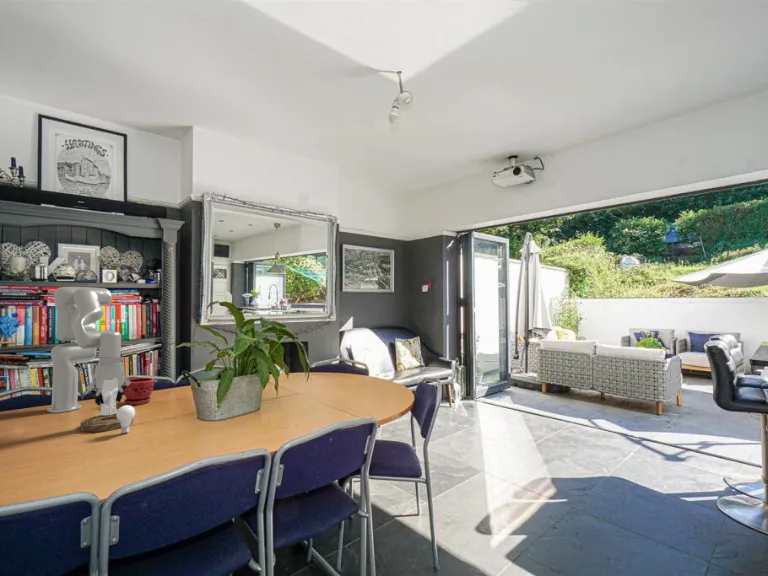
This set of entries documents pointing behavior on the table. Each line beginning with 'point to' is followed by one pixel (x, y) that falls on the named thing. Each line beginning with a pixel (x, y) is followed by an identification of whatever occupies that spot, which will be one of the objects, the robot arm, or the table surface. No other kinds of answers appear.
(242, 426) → the table surface
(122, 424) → the lightbulb
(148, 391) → the plant pot
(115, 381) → the beer glass
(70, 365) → the robot arm
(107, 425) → the tray
